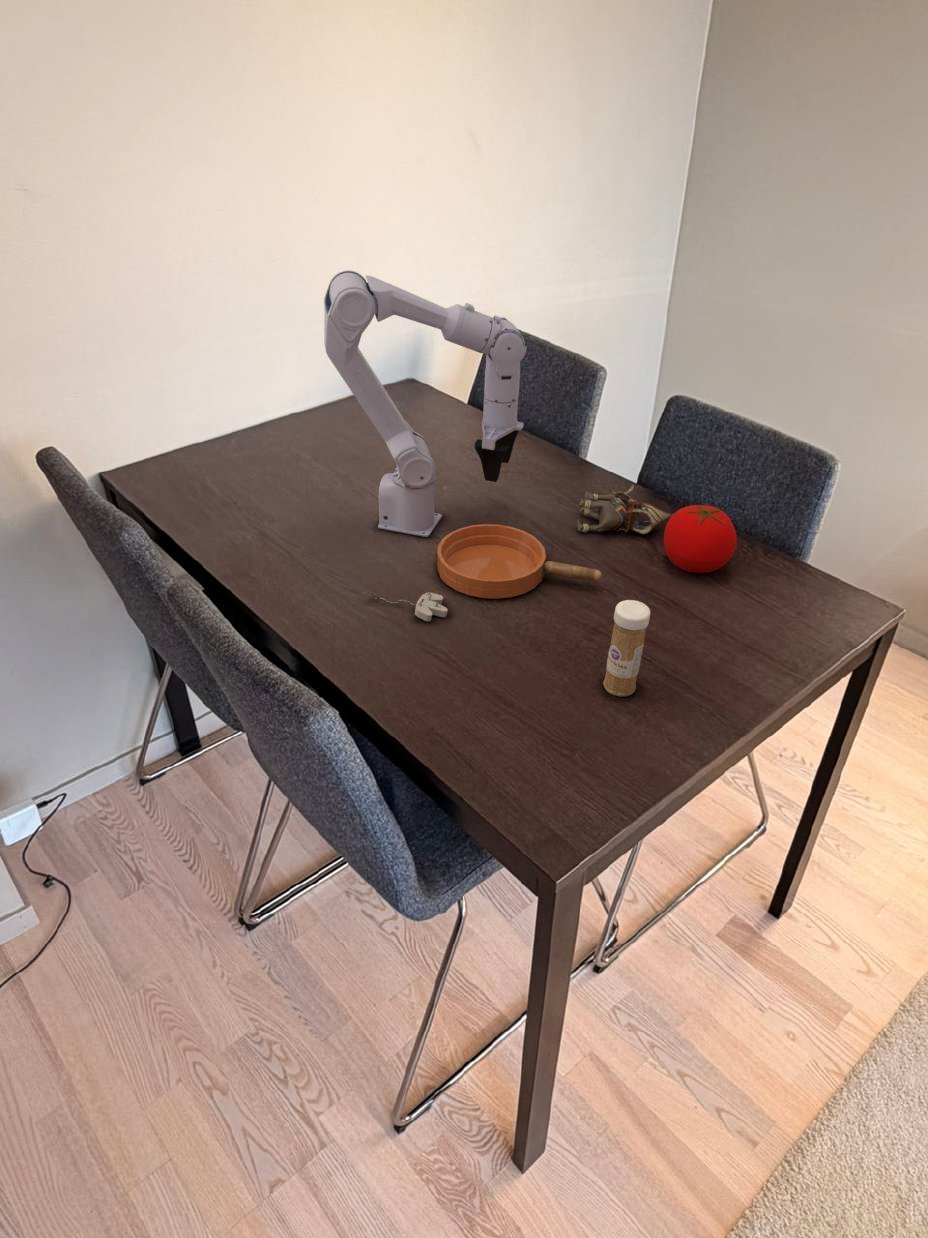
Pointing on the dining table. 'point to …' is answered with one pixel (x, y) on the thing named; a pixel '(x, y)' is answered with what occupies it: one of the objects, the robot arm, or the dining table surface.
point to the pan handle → (572, 571)
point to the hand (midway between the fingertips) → (497, 470)
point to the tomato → (699, 539)
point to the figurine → (619, 512)
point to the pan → (491, 561)
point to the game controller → (429, 606)
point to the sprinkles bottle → (626, 647)
